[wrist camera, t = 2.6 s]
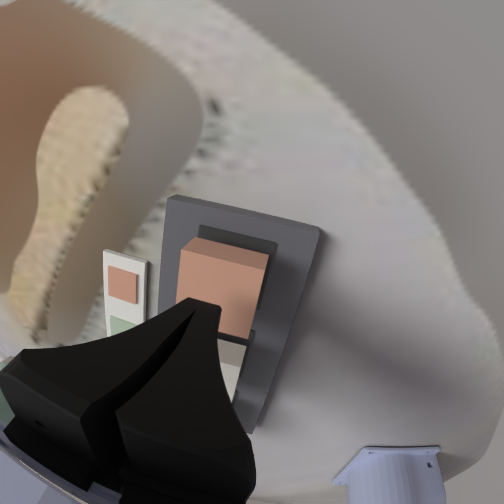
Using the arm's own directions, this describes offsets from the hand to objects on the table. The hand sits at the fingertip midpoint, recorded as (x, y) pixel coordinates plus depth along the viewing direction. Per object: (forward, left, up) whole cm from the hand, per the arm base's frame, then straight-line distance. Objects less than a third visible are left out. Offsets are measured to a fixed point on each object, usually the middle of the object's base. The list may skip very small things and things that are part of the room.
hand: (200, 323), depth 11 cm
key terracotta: (0, 0, -4) cm, 4 cm away
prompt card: (+7, +6, -7) cm, 11 cm away
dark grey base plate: (0, +6, -7) cm, 9 cm away
